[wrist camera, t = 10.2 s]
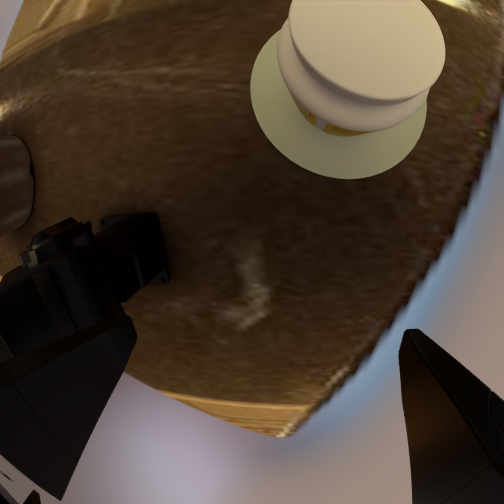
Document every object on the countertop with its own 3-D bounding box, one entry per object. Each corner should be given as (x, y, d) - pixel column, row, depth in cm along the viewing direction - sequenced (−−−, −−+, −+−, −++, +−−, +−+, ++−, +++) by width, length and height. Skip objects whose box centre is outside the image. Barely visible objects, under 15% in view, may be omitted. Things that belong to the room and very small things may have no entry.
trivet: (261, 180, 19) (258, 181, 18) (245, 25, 15) (242, 21, 14) (425, 180, 16) (429, 181, 16) (408, 25, 12) (411, 21, 11)
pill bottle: (400, 81, 14) (486, 29, 4) (359, 154, 16) (421, 173, 6) (317, 35, 14) (314, -67, 4) (276, 107, 16) (222, 62, 6)
